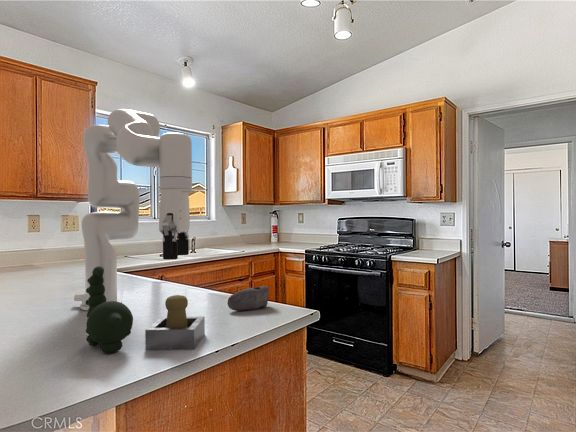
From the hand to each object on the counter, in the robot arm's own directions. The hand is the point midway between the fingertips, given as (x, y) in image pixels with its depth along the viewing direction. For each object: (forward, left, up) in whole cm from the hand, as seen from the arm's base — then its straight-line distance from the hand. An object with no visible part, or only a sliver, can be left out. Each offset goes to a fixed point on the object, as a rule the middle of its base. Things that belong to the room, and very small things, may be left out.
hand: (176, 257), depth 92 cm
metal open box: (0, 0, -20) cm, 20 cm away
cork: (0, 0, -21) cm, 21 cm away
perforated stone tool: (+14, +31, -21) cm, 40 cm away
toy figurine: (-16, -2, -21) cm, 26 cm away
